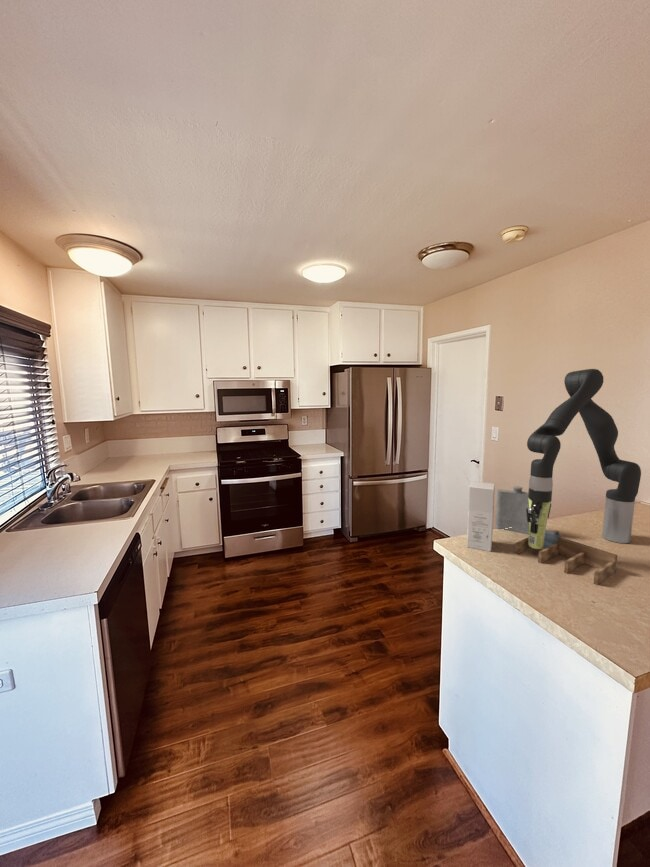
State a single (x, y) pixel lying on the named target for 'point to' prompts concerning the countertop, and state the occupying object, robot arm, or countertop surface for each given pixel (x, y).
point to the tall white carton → (480, 515)
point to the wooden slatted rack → (574, 554)
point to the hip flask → (512, 510)
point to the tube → (539, 528)
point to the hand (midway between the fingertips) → (537, 531)
